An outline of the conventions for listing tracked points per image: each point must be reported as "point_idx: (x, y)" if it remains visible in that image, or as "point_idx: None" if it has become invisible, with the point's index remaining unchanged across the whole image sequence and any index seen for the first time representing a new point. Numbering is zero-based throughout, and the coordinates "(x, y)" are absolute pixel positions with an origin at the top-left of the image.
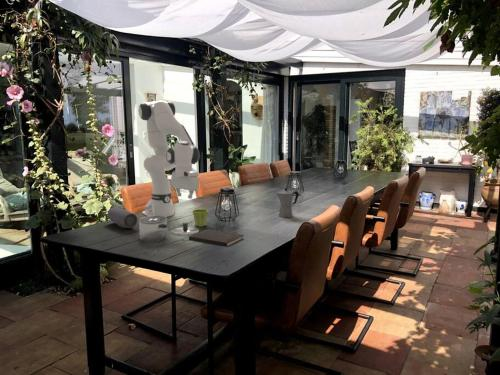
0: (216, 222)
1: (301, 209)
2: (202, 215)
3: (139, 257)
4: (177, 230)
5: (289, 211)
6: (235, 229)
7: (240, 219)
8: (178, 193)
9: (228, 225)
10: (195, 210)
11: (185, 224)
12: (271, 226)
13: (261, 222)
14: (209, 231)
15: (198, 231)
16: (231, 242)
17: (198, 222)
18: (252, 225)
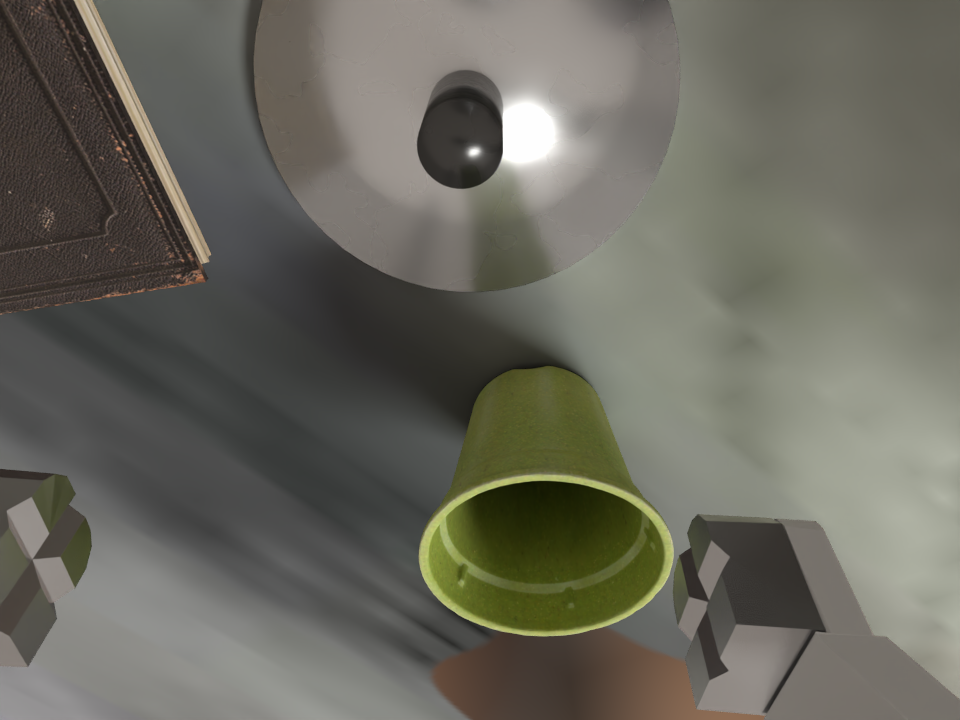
0: None
1: None
2: (449, 491)
3: None
4: (572, 23)
5: None
6: (134, 494)
7: (404, 691)
8: (761, 622)
9: (310, 546)
10: (658, 561)
11: (424, 119)
12: (52, 670)
13: (207, 702)
14: (71, 222)
15: (308, 208)
16: None
17: (508, 398)
18: (169, 631)
